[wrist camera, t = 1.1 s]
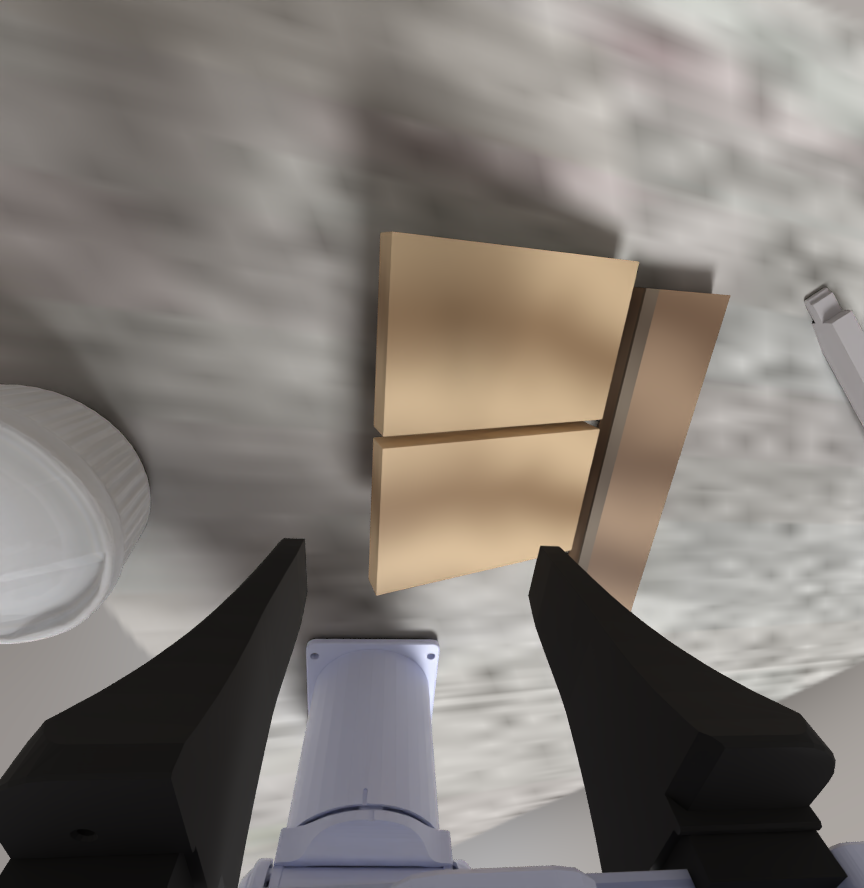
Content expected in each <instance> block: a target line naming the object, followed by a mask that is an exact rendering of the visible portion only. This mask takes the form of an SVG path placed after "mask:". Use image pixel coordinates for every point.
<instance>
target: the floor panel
mask: <svg viewBox="0 0 864 888" xmlns="http://www.w3.org/2000/svg"><path fill="white" fill-rule="evenodd" d="M729 298H730V295H720V294H708V293H697V292H686V291H674V290H663V289H652V288H640V287H633V291H632V295H631V299H630V304H629V308H628V312H627V316H626V321H625V325H624V329H623V333H622V337H621V342H620V346H619V350H618V354H617V359H616V363H615V367H614V371H613V375H612V380H611V384H610V388H609V392H608V397H607V401H606V405H605V409H604V414H603V418H602V419H600V422H599V426H598V428H599V429H600V430H599V435H598V439H597V443H596V447H595V452H594V456H593V460H592V464H591V468H590V473H589V477H588V481H587V485H586V490H585V494H584V498H583V502H582V507H581V511H580V515H579V519H578V523H577V528H576V532H575V536H574V540H573V545H572V549H571V550H570V551H569V554H568V555H569V556H570V557H571V558H572V559H573V560H574V561H575V562H576V563H577V564H578V565H580V566H581V567H582V568H583V569H584V570H585V571H586V572H587V573H588V574H589V575H590V576H591V577H592V578H593V579H594V580H595V581H596V582H597V583H598V584H600V585H601V586H602V587H603V588H604V589H605V590H606V591H607V592H608V593H609V594H610V595H612V596H613V597H614V598H615V599H616V600H617V601H618V602H620V603H621V604H622V605H623V606H624V607H626V608H627V609H628V610H629V611H630V612H631V609H632V606H633V603H634V599H635V596H636V593H637V590H638V587H639V584H640V580H641V577H642V574H643V571H644V568H645V565H646V561H647V558H648V555H649V552H650V549H651V546H652V542H653V539H654V536H655V533H656V530H657V527H658V523H659V520H660V517H661V514H662V511H663V508H664V504H665V501H666V498H667V495H668V492H669V489H670V485H671V482H672V479H673V476H674V473H675V470H676V466H677V463H678V460H679V457H680V454H681V451H682V447H683V444H684V441H685V438H686V435H687V432H688V428H689V425H690V422H691V419H692V416H693V413H694V409H695V406H696V403H697V400H698V397H699V394H700V390H701V387H702V384H703V381H704V378H705V374H706V371H707V368H708V365H709V362H710V359H711V355H712V352H713V349H714V346H715V343H716V340H717V336H718V333H719V330H720V327H721V324H722V321H723V317H724V314H725V311H726V308H727V305H728V302H729Z"/></svg>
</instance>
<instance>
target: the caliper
mask: <svg viewBox="0 0 864 888" xmlns="http://www.w3.org/2000/svg"><path fill="white" fill-rule="evenodd" d="M805 305H806V307H807V309H808V311H809V313H810V314H811V316H812V318H813V320H814V323H813V324H812V325H813V328H814V331H815V334H816V336H817V339H818V342H819V345H820V348H821V350H822V352H823V354H824V356H825V358H826V359H827V361H828V363H829V365H830V367H831V369H832V370H833V372H834V374H835V376H836V378H837V379H838V381H839V383H840V385H841V387H842V389H843V390H844V392H845V394H846V396H847V398H848V400H849V401H850V403H851V405H852V407H853V409H854V410H855V412H856V414H857V416H858V418H859V420H860V421H861V423H862V425H863V427H864V332H863V330H862V328H861V327H860V325H859V323H858V321H857V319H856V317H855V315H854V313H853V311H851V310H844V311H842V309H841V307H840V305H839V303H838V301H837V299H836V297H835V296H834V294H833V292H830V291H829V290H828V288H825V287H824V288H823V289H821V290H820V291H818V292H817V293H815V294H814V295H812V296H811V297H809V298H808V299H806V300H805Z"/></svg>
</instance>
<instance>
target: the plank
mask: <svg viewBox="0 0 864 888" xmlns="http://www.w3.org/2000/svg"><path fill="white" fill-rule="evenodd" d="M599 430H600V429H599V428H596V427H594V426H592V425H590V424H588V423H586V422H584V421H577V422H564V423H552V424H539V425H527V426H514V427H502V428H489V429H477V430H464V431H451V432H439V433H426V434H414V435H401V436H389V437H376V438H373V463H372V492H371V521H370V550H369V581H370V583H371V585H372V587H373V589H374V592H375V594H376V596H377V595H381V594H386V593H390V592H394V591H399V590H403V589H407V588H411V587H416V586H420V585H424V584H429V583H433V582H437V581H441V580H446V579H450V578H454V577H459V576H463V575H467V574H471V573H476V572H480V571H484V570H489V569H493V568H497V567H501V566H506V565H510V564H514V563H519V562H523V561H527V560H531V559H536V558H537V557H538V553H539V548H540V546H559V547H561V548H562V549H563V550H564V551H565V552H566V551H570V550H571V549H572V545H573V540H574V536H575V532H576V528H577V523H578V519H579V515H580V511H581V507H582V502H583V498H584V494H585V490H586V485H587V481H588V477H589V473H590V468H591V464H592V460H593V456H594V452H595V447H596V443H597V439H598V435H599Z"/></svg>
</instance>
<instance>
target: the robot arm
mask: <svg viewBox="0 0 864 888" xmlns="http://www.w3.org/2000/svg"><path fill="white" fill-rule="evenodd" d="M306 596H307V575H306V553H305V539H290V538H284V539H282V540H281V541H280V542H279V543H278V545H277V546H276V547H275V548H274V549H273V550H272V552H271V553H270V554H269V555H268V556H267V557H266V559H265V560H264V561H263V562H262V563H261V564H260V565H259V566H258V568H257V569H256V570H255V571H254V572H253V573H252V574H251V575H250V576H249V577H248V578H247V579H246V580H245V581H244V582H243V583H242V584H241V586H240V587H239V588H238V589H237V590H236V591H235V592H233V593H232V594H231V595H230V596H229V597H228V598H227V599H226V600H225V601H224V602H223V603H222V604H221V605H220V606H219V607H218V608H217V609H215V610H214V611H213V612H212V613H211V614H210V615H209V616H208V617H206V618H205V619H204V620H203V621H202V622H201V623H199V624H198V625H197V626H196V627H194V628H193V629H192V630H191V631H190V632H188V633H187V634H186V635H185V636H183V637H182V638H181V639H179V640H178V641H177V642H175V643H174V644H172V645H171V646H170V647H168V648H167V649H165V650H164V651H163V652H161V653H160V654H158V655H157V656H156V657H154V658H153V659H151V660H150V661H148V662H147V663H146V664H144V665H142V666H141V667H139V668H138V669H136V670H135V671H133V672H131V673H130V674H128V675H127V676H125V677H123V678H122V679H120V680H118V681H117V682H115V683H113V684H112V685H110V686H108V687H107V688H105V689H103V690H102V691H100V692H98V693H97V694H95V695H93V696H91V697H89V698H87V699H85V700H84V701H82V702H80V703H78V704H76V705H74V706H72V707H71V708H69V709H67V710H65V711H63V712H61V713H59V714H58V715H55V716H53V717H52V718H50V719H48V720H46V721H45V722H44V723H43V724H42V726H41V727H40V728H39V729H38V730H37V731H36V733H35V734H34V735H33V736H32V737H31V739H30V740H29V741H28V742H27V744H26V745H25V746H24V748H23V749H22V750H21V752H20V753H19V754H18V756H17V757H16V758H15V760H14V761H13V762H12V764H11V765H10V767H9V768H8V769H7V771H6V772H5V773H4V775H3V776H2V777H1V779H0V843H1V844H2V846H3V847H4V849H5V851H6V852H7V854H8V855H9V857H10V858H11V859H10V860H9V862H8V863H7V865H6V866H5V868H4V870H3V871H2V873H1V875H0V888H864V842H846V843H839V844H836V845H834V846H832V847H830V848H828V847H827V846H826V844H825V843H824V841H823V840H822V838H821V837H820V835H819V834H818V833H817V831H816V830H820V829H821V828H822V825H821V821H820V820H819V819H818V817H817V816H816V814H815V813H814V812H813V810H812V809H811V807H810V806H809V805H810V804H811V803H812V802H813V800H814V799H815V798H816V797H817V795H818V794H819V793H820V792H821V791H822V789H823V788H824V787H825V786H826V784H827V783H828V782H829V780H830V779H831V777H832V775H833V774H834V768H835V758H834V755H833V753H832V751H831V750H830V749H829V748H828V747H827V746H826V744H825V743H824V742H823V741H822V739H821V738H820V737H819V736H818V735H817V733H816V732H815V731H814V730H813V729H812V727H810V725H809V724H808V723H807V722H806V720H805V719H804V718H803V717H802V715H801V714H799V713H797V712H795V711H793V710H791V709H789V708H787V707H785V706H783V705H781V704H779V703H777V702H775V701H773V700H770V699H768V698H766V697H764V696H762V695H760V694H758V693H756V692H754V691H752V690H750V689H748V688H746V687H745V686H743V685H741V684H739V683H737V682H735V681H734V680H732V679H730V678H728V677H726V676H724V675H723V674H721V673H719V672H717V671H716V670H714V669H712V668H711V667H709V666H707V665H706V664H704V663H702V662H701V661H699V660H698V659H696V658H694V657H693V656H691V655H690V654H688V653H687V652H685V651H683V650H682V649H680V648H679V647H677V646H676V645H674V644H673V643H671V642H670V641H669V640H667V639H666V638H664V637H663V636H662V635H660V634H659V633H658V632H656V631H655V630H653V629H652V628H651V627H649V626H648V625H647V624H645V623H644V622H643V621H641V620H640V619H639V618H638V617H636V616H635V615H634V614H633V613H632V612H630V611H629V610H628V609H627V608H626V607H624V606H623V605H622V604H621V603H620V602H618V601H617V600H616V599H615V598H614V597H613V596H612V595H610V594H609V593H608V592H607V591H606V590H605V589H604V588H603V587H602V586H601V585H600V584H598V583H597V582H596V581H595V580H594V579H593V578H592V577H591V576H590V575H589V574H588V573H587V572H586V571H585V570H584V569H583V568H582V567H581V566H580V565H578V564H577V563H576V562H575V561H574V560H573V559H572V558H571V557H570V556H569V555H568V554H567V553H566V552H565V551H564V550H563V549H562V548H561V547H559V546H540V548H539V553H538V557H537V561H536V565H535V570H534V574H533V578H532V582H531V587H530V591H529V595H528V596H529V600H530V605H531V610H532V614H533V618H534V623H535V627H536V630H537V632H538V635H539V638H540V641H541V644H542V646H543V649H544V652H545V655H546V657H547V660H548V663H549V665H550V668H551V671H552V674H553V676H554V679H555V682H556V684H557V687H558V690H559V693H560V695H561V698H562V701H563V704H564V708H565V711H566V714H567V718H568V722H569V725H570V729H571V733H572V737H573V741H574V744H575V748H576V753H577V757H578V761H579V765H580V769H581V773H582V777H583V782H584V786H585V790H586V795H587V800H588V804H589V809H590V813H591V818H592V822H593V827H594V832H595V837H596V842H597V847H598V853H599V858H600V863H601V868H602V873H587V874H585V873H583V872H581V871H580V870H578V869H576V868H574V867H564V866H554V865H552V866H529V867H528V866H527V867H503V868H480V869H471V868H470V866H469V865H468V863H467V862H465V861H464V860H452V850H451V838H450V832H449V831H448V830H439V817H438V804H437V790H436V777H435V764H434V751H433V737H432V724H431V720H432V711H433V703H434V694H435V686H436V677H437V669H438V660H439V651H440V648H439V643H438V641H436V640H432V639H312V640H310V641H309V642H308V643H307V647H306V665H307V696H308V721H307V726H306V731H305V736H304V741H303V746H302V752H301V757H300V762H299V767H298V772H297V777H296V782H295V787H294V792H293V797H292V802H291V807H290V812H289V817H288V823H287V828H283V829H281V832H280V837H279V842H278V847H277V852H276V857H275V861H274V867H273V859H272V858H261V859H259V860H258V861H257V862H256V864H255V865H254V868H252V869H251V870H250V871H249V872H248V873H247V874H246V875H245V876H244V877H243V879H242V880H241V882H240V884H239V886H238V882H239V877H240V872H241V866H242V861H243V855H244V850H245V845H246V839H247V834H248V829H249V824H250V819H251V814H252V809H253V804H254V799H255V794H256V789H257V784H258V780H259V775H260V770H261V765H262V761H263V756H264V751H265V747H266V742H267V738H268V733H269V729H270V724H271V720H272V715H273V712H274V708H275V704H276V701H277V697H278V694H279V691H280V688H281V685H282V682H283V679H284V676H285V672H286V669H287V666H288V663H289V660H290V657H291V654H292V651H293V648H294V644H295V641H296V638H297V635H298V632H299V629H300V625H301V621H302V616H303V611H304V606H305V601H306ZM313 653H317V654H313ZM429 653H433V654H429Z"/></svg>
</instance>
